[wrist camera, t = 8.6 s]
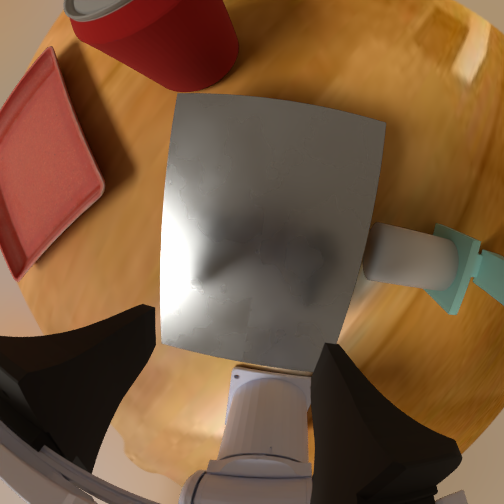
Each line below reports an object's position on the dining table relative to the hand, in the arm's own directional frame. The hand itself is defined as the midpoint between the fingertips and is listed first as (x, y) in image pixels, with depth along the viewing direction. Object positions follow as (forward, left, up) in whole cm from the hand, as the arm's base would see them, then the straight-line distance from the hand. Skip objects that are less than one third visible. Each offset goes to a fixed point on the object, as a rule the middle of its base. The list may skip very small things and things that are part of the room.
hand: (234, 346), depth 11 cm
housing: (+3, 0, -10) cm, 10 cm away
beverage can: (+15, +7, -10) cm, 20 cm away
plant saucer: (+6, +24, -11) cm, 27 cm away
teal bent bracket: (+3, -14, -10) cm, 18 cm away
